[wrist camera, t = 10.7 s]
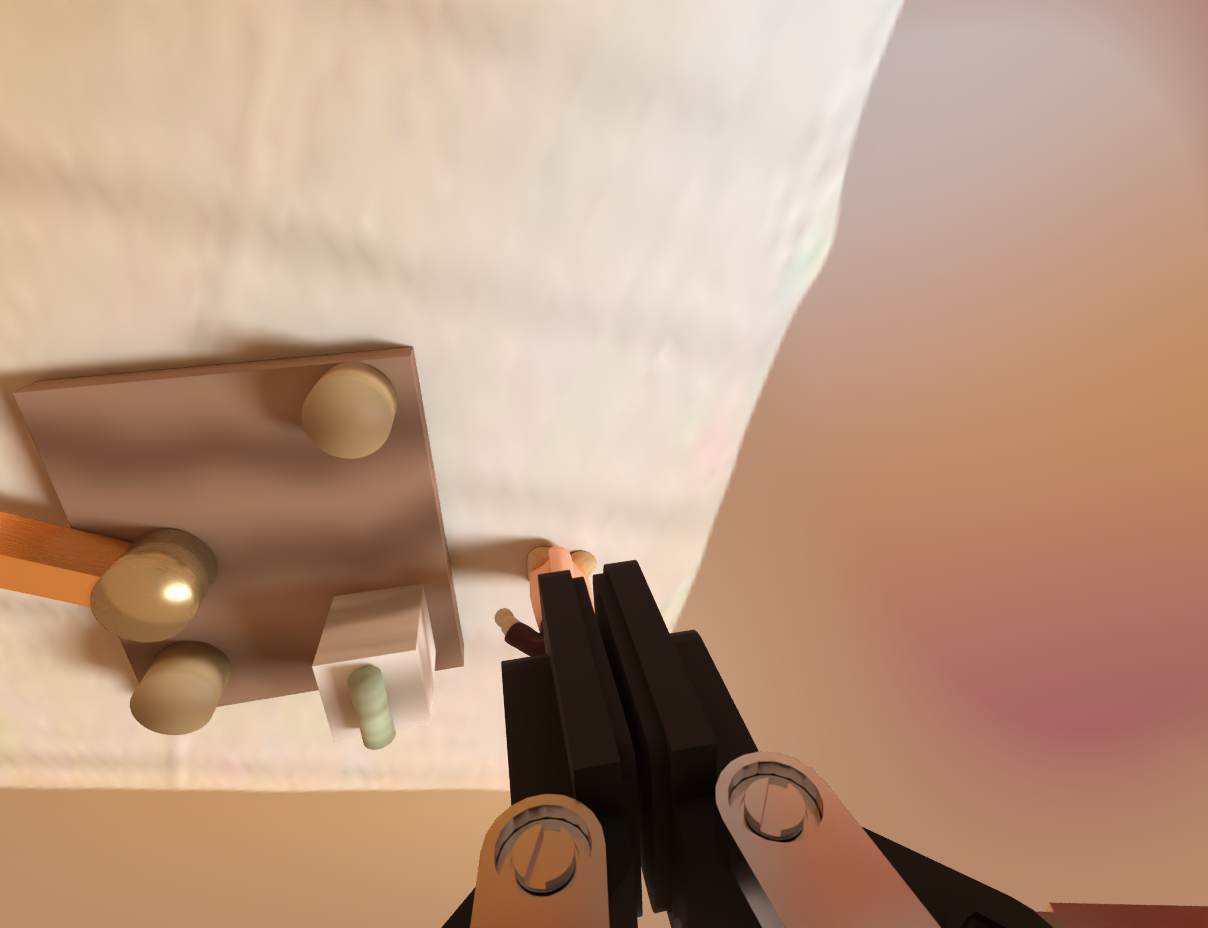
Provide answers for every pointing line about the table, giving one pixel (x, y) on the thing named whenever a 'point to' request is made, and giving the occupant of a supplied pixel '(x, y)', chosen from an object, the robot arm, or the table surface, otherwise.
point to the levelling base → (271, 529)
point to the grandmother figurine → (537, 564)
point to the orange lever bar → (110, 574)
